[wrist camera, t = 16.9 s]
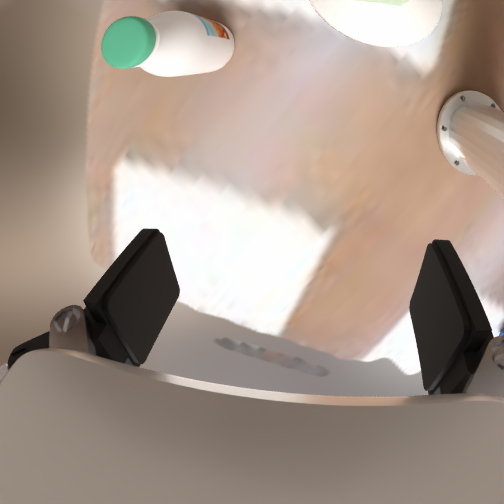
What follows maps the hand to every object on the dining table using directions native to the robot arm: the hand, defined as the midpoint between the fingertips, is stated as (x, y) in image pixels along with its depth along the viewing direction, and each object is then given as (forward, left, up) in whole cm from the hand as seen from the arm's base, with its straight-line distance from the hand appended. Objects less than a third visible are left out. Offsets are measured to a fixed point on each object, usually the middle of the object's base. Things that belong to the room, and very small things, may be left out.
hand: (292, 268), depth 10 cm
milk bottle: (+13, -11, -33) cm, 37 cm away
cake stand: (-8, -17, -32) cm, 37 cm away
